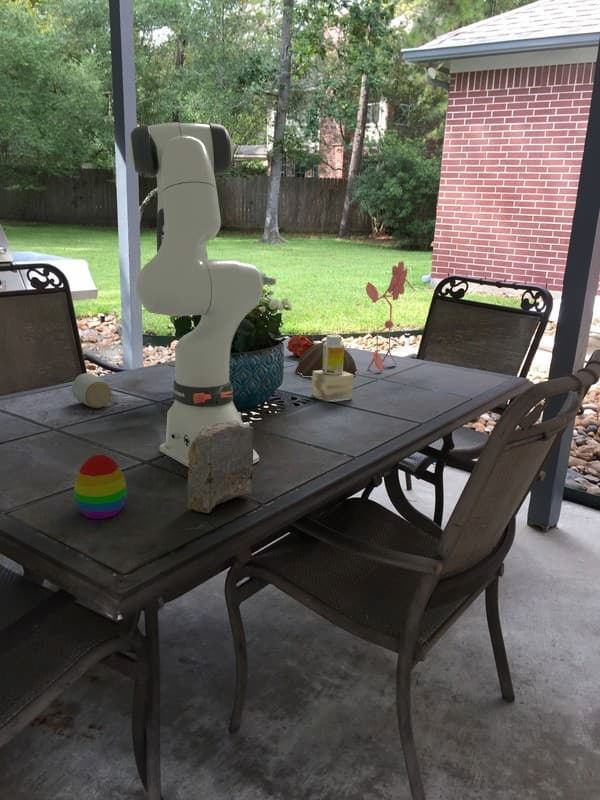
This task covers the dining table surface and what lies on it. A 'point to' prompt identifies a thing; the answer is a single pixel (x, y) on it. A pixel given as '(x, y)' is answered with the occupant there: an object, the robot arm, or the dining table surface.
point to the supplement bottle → (333, 355)
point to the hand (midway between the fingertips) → (268, 283)
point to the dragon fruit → (299, 344)
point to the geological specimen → (220, 465)
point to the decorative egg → (100, 488)
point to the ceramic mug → (92, 391)
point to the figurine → (396, 289)
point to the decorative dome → (321, 361)
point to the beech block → (332, 385)
